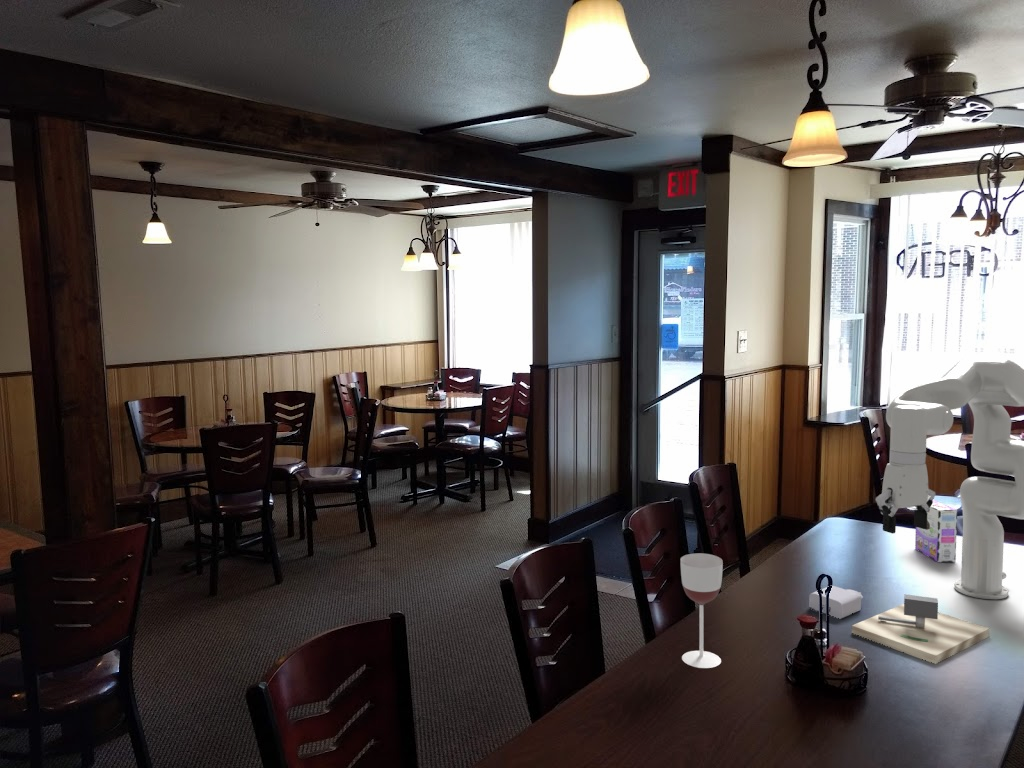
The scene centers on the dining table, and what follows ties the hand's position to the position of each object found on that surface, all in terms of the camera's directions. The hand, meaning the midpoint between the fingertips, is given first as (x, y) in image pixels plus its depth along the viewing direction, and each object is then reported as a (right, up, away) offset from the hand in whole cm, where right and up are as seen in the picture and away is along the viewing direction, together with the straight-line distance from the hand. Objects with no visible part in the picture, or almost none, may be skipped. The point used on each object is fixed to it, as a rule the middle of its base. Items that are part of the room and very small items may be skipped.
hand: (904, 529), depth 182 cm
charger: (-6, -25, +20) cm, 32 cm away
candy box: (+39, -19, +58) cm, 73 cm away
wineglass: (-50, -28, -8) cm, 58 cm away
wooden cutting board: (+5, -26, +2) cm, 26 cm away
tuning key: (+2, -23, +3) cm, 24 cm away
